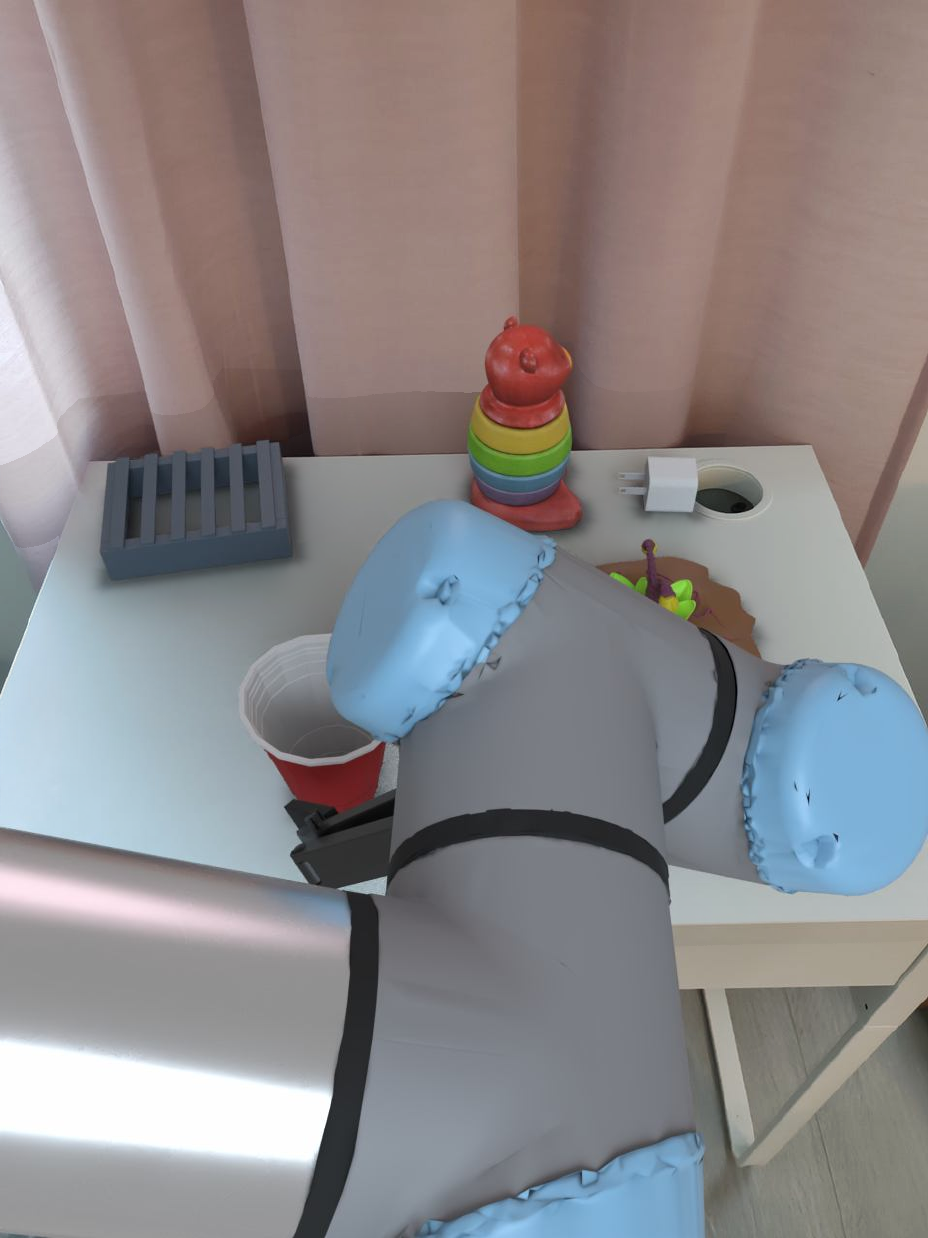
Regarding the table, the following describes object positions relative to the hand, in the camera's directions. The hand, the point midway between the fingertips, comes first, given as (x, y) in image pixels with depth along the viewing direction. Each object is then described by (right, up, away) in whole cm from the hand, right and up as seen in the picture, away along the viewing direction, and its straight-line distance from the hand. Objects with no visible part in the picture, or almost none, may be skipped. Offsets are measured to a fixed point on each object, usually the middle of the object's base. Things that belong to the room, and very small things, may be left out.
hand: (385, 752), depth 63 cm
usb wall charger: (+23, +20, +32) cm, 44 cm away
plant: (+19, +4, +19) cm, 27 cm away
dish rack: (-19, +17, +30) cm, 40 cm away
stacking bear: (+10, +20, +32) cm, 39 cm away
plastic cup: (-4, -4, +11) cm, 13 cm away
